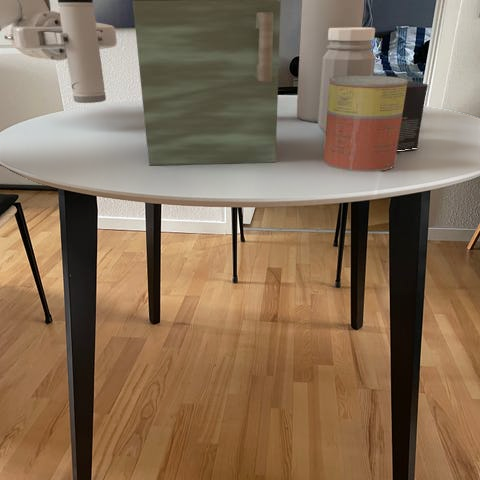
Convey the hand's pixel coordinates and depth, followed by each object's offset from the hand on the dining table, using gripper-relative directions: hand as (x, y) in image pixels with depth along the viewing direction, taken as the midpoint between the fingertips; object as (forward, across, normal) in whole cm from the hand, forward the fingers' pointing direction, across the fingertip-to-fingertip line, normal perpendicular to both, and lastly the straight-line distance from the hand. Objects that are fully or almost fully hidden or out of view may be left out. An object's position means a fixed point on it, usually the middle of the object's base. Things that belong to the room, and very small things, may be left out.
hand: (83, 38), depth 94 cm
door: (+40, -1, +16) cm, 43 cm away
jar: (+35, +36, +16) cm, 53 cm away
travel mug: (-1, 0, +11) cm, 11 cm away
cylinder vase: (+23, +45, +16) cm, 53 cm away
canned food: (+53, +18, +16) cm, 58 cm away
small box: (+48, +32, +16) cm, 60 cm away
